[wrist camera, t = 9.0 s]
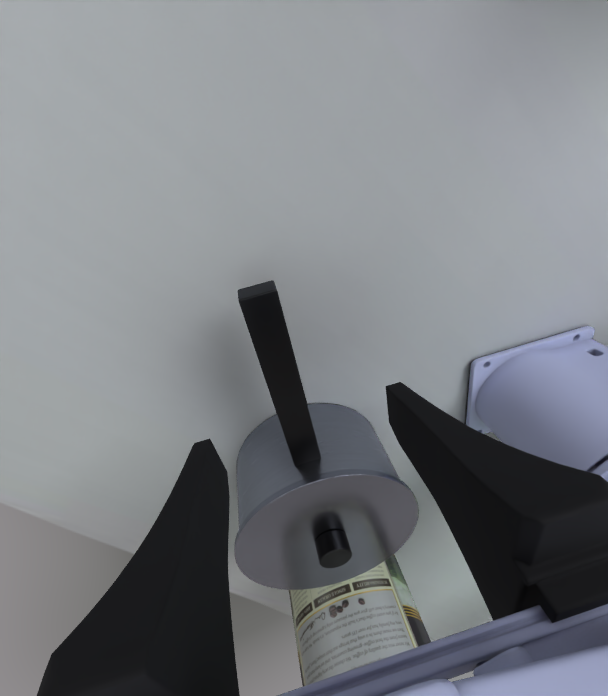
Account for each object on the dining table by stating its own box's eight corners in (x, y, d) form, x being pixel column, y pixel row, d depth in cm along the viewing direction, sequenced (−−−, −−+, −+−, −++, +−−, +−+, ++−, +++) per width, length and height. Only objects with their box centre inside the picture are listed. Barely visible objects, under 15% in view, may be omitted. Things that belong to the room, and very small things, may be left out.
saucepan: (355, 232, 18) (428, 280, 12) (384, 481, 30) (429, 573, 23) (139, 289, 17) (90, 375, 11) (256, 522, 29) (265, 628, 23)
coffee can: (404, 521, 34) (502, 725, 22) (342, 577, 37) (398, 781, 25) (323, 499, 29) (392, 741, 17) (261, 565, 33) (283, 806, 21)
